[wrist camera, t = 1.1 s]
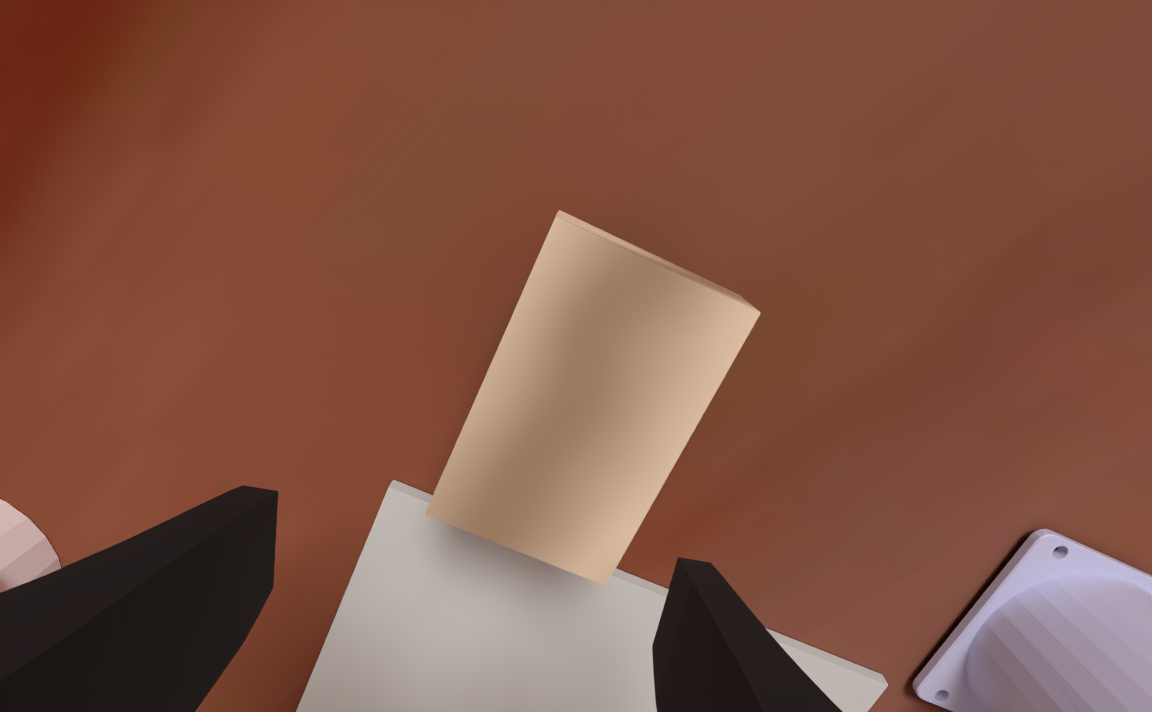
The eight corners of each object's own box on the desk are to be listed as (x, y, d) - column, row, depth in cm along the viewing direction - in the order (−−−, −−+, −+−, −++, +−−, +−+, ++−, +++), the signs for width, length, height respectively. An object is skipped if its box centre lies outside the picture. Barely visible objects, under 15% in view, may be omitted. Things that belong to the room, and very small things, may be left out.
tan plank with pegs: (710, 271, 19) (760, 313, 13) (599, 480, 21) (605, 585, 16) (563, 201, 18) (555, 216, 13) (465, 424, 20) (424, 514, 15)
